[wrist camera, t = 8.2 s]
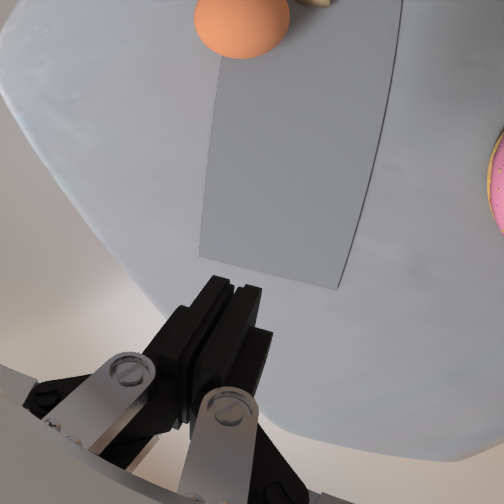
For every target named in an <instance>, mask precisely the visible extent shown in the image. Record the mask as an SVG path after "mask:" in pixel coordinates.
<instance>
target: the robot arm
mask: <svg viewBox="0 0 504 504" xmlns="http://www.w3.org/2000/svg"><path fill="white" fill-rule="evenodd" d="M261 294H262V288H259V287H256V286H252V285H248V284H246V285H245V286H244V288H243V287H238V288H237V290H236V292H235V293H234V285H232V284H230V280H229V279H226V278H223V277H219V276H215V275H213V276H212V277H211V278H210V280H209V281H208V282H207V284H206V285H205V286H204V288H203V289H202V291H201V292H200V293H199V295H198V296H197V297H196V299H195V300H194V301H193V303H192V304H191V306H190V307H186V306H183V305H180V306H179V307H178V308H177V309H176V310H175V311H174V313H173V314H172V315H171V316H170V318H169V319H168V320H167V322H166V323H165V324H164V325H163V327H162V328H161V329H160V331H159V332H158V333H157V334H156V336H155V337H154V338H153V340H152V341H151V342H150V344H149V345H148V346H147V348H146V349H145V350H144V351H143V353H142V354H139V353H136V352H123V353H120V354H116V355H115V356H113V357H112V358H110V359H109V360H108V361H107V362H105V363H104V364H103V365H102V366H101V367H100V368H99V369H98V370H96V371H95V372H94V373H93V374H88V375H83V376H77V377H71V378H65V379H58V380H51V381H46V382H42V383H38V381H37V379H35V378H32V377H30V376H27V375H25V374H22V373H20V372H17V371H15V370H12V369H10V368H8V367H5V366H3V365H1V364H0V504H354V503H351V502H348V501H345V500H342V499H339V498H336V497H334V496H331V495H328V494H326V493H323V492H322V493H321V494H318V493H316V492H313V491H311V490H308V489H307V488H306V486H305V484H304V483H303V482H302V481H301V480H300V478H299V477H298V476H297V474H296V473H295V472H294V471H293V469H292V468H291V467H290V465H289V464H288V463H287V462H286V460H285V459H284V457H283V456H282V455H281V454H280V452H279V451H278V450H277V448H276V447H275V446H274V444H273V443H272V441H271V440H270V439H269V437H268V436H267V435H266V433H265V432H264V430H263V429H262V428H261V426H260V425H259V423H258V415H259V410H258V405H257V403H256V401H255V399H254V395H255V392H256V389H257V386H258V383H259V380H260V378H261V375H262V372H263V368H264V365H265V362H266V359H267V355H268V352H269V348H270V344H271V340H272V336H273V332H271V331H267V330H263V329H260V328H256V327H255V323H256V318H257V313H258V308H259V304H260V299H261ZM189 421H190V440H191V442H190V445H189V449H188V453H187V457H186V460H185V464H184V467H183V471H182V475H181V478H180V482H179V486H178V489H177V493H175V492H172V491H170V490H167V489H164V488H162V487H160V486H157V485H155V484H153V483H151V482H148V481H146V480H144V479H142V478H140V477H137V476H135V475H133V474H131V473H132V472H133V471H134V470H135V468H136V467H137V466H138V465H139V463H140V462H141V461H142V460H143V459H144V457H145V456H146V455H147V454H148V453H149V451H150V450H151V449H152V448H153V446H154V445H155V444H156V443H157V442H158V440H159V439H160V437H161V435H162V433H165V432H169V431H170V430H171V428H174V429H177V430H179V428H180V426H181V425H182V423H186V424H188V423H189Z"/></svg>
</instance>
